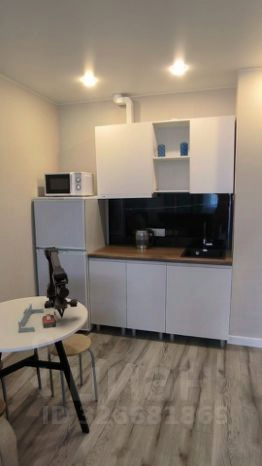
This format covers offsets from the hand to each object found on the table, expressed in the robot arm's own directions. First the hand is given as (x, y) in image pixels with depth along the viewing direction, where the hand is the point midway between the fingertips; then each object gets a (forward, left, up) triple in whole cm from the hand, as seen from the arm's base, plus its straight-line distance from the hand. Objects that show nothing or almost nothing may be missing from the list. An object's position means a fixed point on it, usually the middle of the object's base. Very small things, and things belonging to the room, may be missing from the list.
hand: (61, 317), depth 188 cm
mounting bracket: (0, -17, -1) cm, 17 cm away
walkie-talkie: (0, -7, -2) cm, 7 cm away
